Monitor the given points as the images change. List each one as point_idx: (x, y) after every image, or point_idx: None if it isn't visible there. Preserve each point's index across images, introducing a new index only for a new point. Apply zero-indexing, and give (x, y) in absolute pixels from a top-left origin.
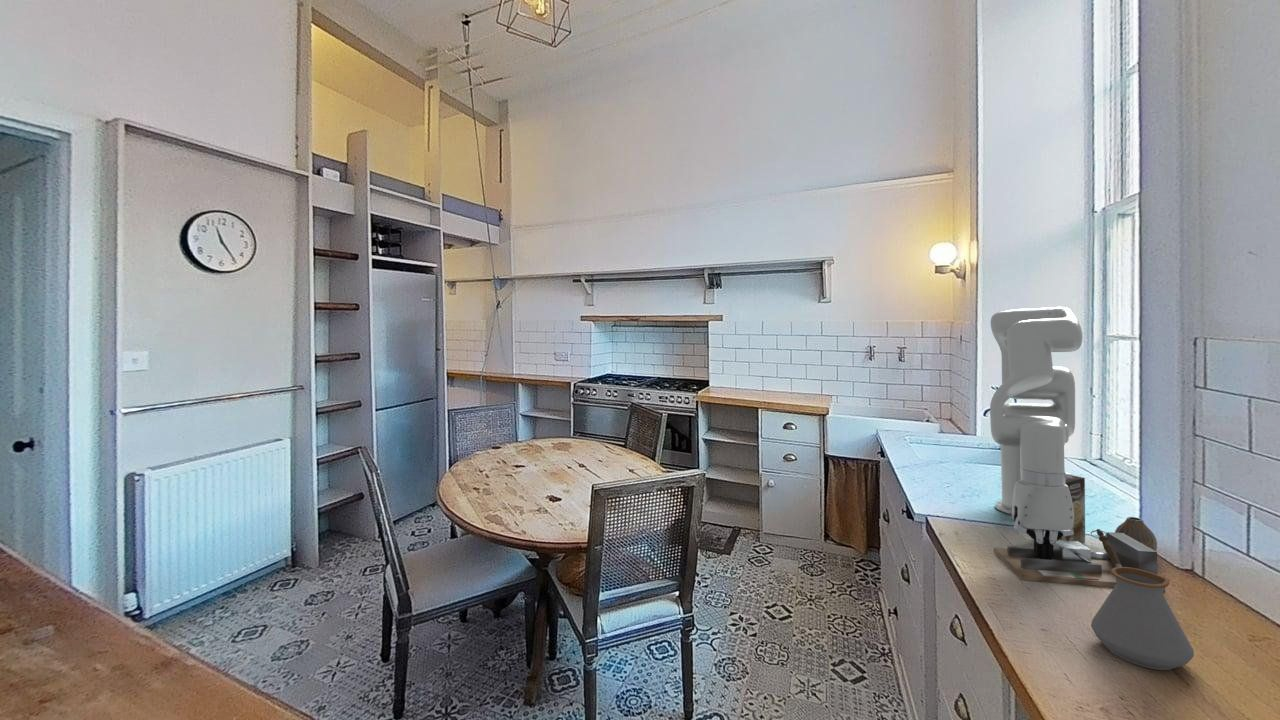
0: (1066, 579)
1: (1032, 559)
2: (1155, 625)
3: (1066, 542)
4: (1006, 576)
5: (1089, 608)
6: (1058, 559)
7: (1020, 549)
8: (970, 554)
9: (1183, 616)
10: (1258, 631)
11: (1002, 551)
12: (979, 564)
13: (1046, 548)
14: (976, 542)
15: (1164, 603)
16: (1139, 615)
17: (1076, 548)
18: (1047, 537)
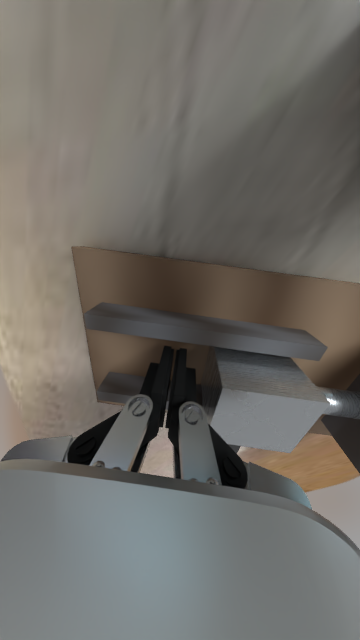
0: None
1: (122, 400)
2: None
3: (264, 409)
4: (78, 381)
5: (159, 451)
6: (205, 377)
7: (124, 331)
8: (10, 271)
9: (266, 466)
10: (317, 485)
11: (92, 280)
12: (32, 334)
13: (164, 415)
14: (31, 123)
15: None
16: None
17: (249, 445)
18: (178, 439)
